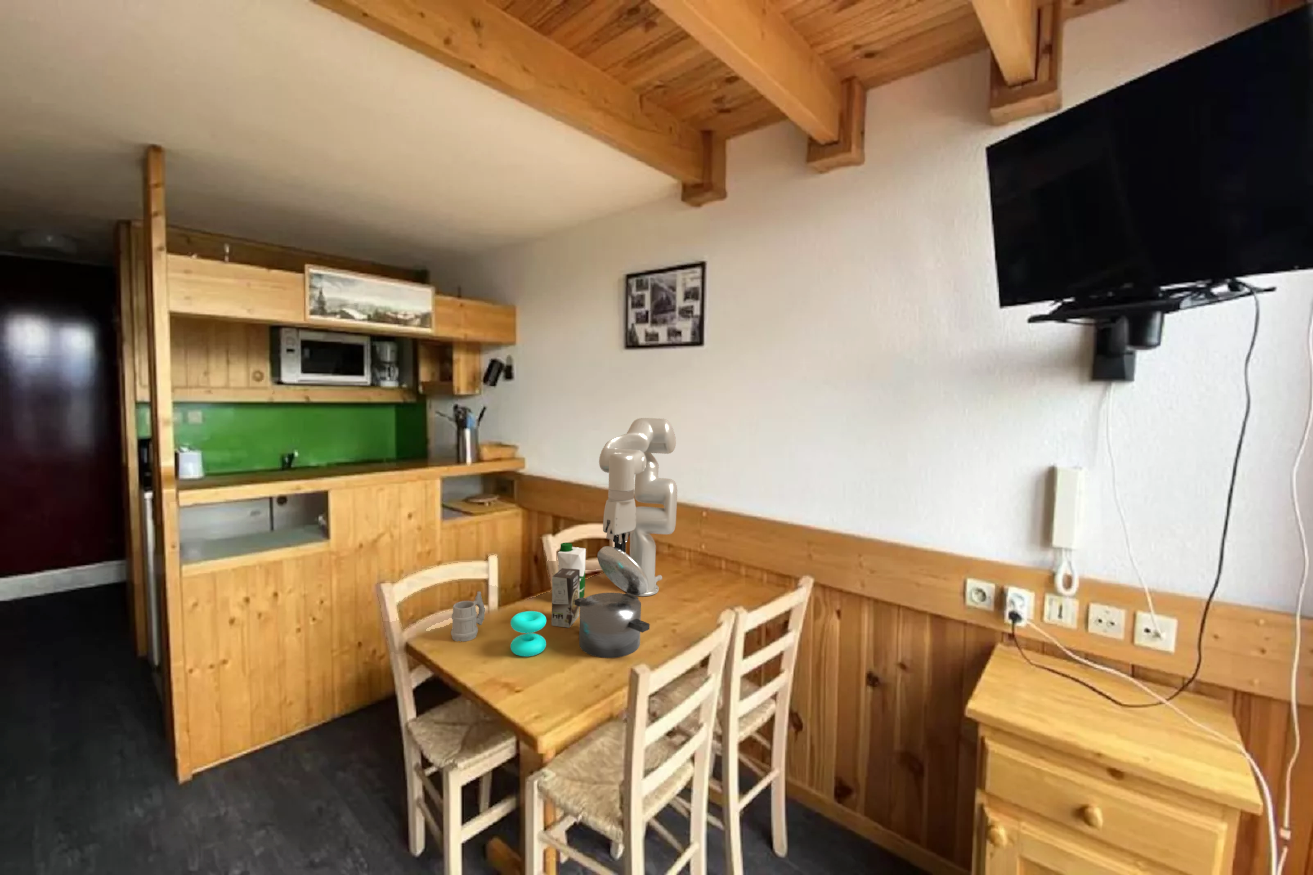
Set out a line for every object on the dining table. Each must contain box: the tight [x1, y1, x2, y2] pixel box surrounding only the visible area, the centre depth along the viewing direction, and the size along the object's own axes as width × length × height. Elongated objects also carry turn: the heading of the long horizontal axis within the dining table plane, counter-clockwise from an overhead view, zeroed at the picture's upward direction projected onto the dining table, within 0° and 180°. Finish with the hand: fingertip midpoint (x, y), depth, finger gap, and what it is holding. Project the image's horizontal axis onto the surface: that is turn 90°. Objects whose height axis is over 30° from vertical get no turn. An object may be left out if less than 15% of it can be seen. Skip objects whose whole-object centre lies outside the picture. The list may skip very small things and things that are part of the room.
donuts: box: [510, 610, 547, 657], centre depth 161 cm, size 10×10×10 cm
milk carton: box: [557, 542, 587, 598], centre depth 197 cm, size 9×9×20 cm
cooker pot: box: [575, 592, 651, 659], centre depth 166 cm, size 18×28×12 cm, turn 50°
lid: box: [596, 545, 648, 597], centre depth 169 cm, size 18×18×3 cm
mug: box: [450, 590, 486, 642], centre depth 169 cm, size 8×12×12 cm, turn 152°
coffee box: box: [551, 568, 580, 628], centre depth 180 cm, size 9×6×16 cm
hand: (619, 555), depth 167 cm, fingers closed
